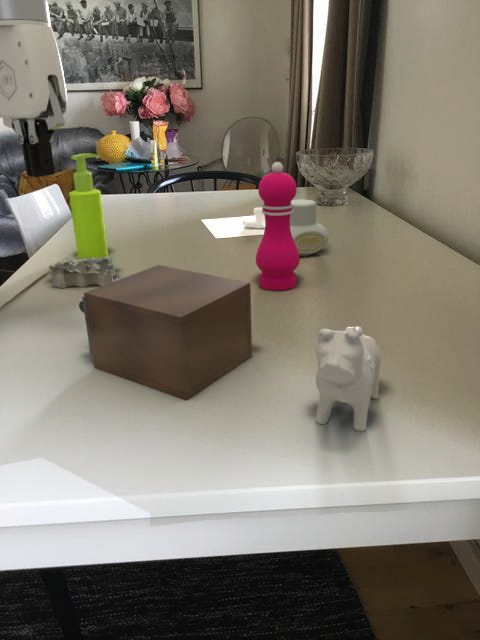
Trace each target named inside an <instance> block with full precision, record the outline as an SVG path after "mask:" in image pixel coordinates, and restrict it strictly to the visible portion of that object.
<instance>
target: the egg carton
mask: <svg viewBox="0 0 480 640" xmlns="http://www.w3.org/2000/svg"><path fill="white" fill-rule="evenodd" d="M114 261H115V256H114V254H111V255H108V257H103V258H100V257H98V258H97V259H94V258H93V257H91V258H89V259H78V258H71V257H67V258H63V259H61V260H59V261H57V262H56V263H55V264H54V265H49V266H48V267H49V269H48V270H50V275H51V281H52V286H53V287H54V288H55V287H56V288H59V289H66V288H68V287H73V286H77V287H79V288H81V287H82V288H84V287H88V286H91V285H98V287H101V286H103V285H106V284H109V283H111V282H114V277H116V272H115V271H116V270H115V263H114Z"/></svg>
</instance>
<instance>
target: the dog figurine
mask: <svg viewBox="0 0 480 640" xmlns="http://www.w3.org/2000/svg"><path fill="white" fill-rule="evenodd" d="M317 341H318V342H317V344H316V350H315V354H316V359H317V370H316V373H315V385H316V388H317V391H318V392H319V394H318V395H319V398H318V404H317V409H316V415H315V420H314V421H315V423H316V424H319V425H326V424H327V423H328V422H329V419H330V415H331V414H332V413H331V412H332V410H333V406H334V403H336V402H340V403H343V404H349V405H350V406H351V408H352V410H353V422H352V428H353V429H354V431H357V432H363V431H366V430H367V421H368V413H369V412H368V411H369V406H370V401H371V399H379V396H380V395H379V390H380V389H379V387H380V386H379V384H380V370H381V369H380V368H381V363H382V362H381V361H382V353H381V350H380V349H381V348H380V345H379V344H378V343H377V340H376V339H374V338H373V337H371V336H369V335H365V334H364V332H363V328H362V327H361V326H355V327H354V326H347V327H346V328H345V330H331V329H329V328H322V329H321V330H319V332H318V337H317Z"/></svg>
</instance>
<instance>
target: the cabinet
mask: <svg viewBox="0 0 480 640" xmlns="http://www.w3.org/2000/svg"><path fill="white" fill-rule="evenodd" d="M251 288H252V287H251V282H248V281H243V280H237V279H232V278H228V277H223V276H217V275H212V274H207V273H203V272H197V271H192V270H187V269H182V268H176V267H172V266H171V267H170V266H167V265H162V264H157V265H155V266H152V267H149V268H146V269H143V270H140V271H138V272H135V273H132V274H131V275H127V276H125V277H122V278H120V279H117V280H113V282H111V283H109V284H106V285H103V286H98V287H96V288H93V289H90V290H88V291H84V292H83V296H84V297H85V304H86V312H87V319H88V326H89V333H90V340H91V347H92V354H93V357H92V359H93V367H94V368H95V369H98V370H101V371H104V372H106V373H109V374H112V375H115V376H118V377H120V378H123V379H126V380H129V381H132V382H134V383H138V384H140V385H143V386H145V387H149V388H151V389H154V390H158V391H160V392H163V393H166V394H168V395H171V396H174V397H177V398H180V399H182V400H185V401H188V400H190V399H191V398H193V397H194V396H195V395H197V394H199V393H200V392H202V391H203V390H204V389H205V388H207V387H209V386H210V385H212V384H213V383H215V382H217V380H219V379H220V378H222V377H223V376H225V375H226V374H228V373H230V372H231V371H232V370H234V369H236V368H237V367H238V366H240V365H241V364H243V363H244V362H245V361H247V360H249V359H250V358H252V357H253V342H252V341H253V339H252V337H253V336H252V297H251V296H252V292H251Z"/></svg>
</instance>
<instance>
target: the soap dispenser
mask: <svg viewBox="0 0 480 640" xmlns="http://www.w3.org/2000/svg"><path fill="white" fill-rule="evenodd" d="M101 156H102V155H101V154H97V153H86V152H85V153H78V154H73V155H70V159H71V160H74V161H75V165H76V171H75V172H73V174H72V177H73V181H74V182H73V183H74V190H72V191H69V192H68V197H69V203H70V211H71V218H72V224H73V225H72V226H73V233H74V238H75V247H76V253H77V260H79V259H89V258H91V257H93V258H94V259H97V258H98V257H100V258H103V257H109V250H108V242H107V234H106V226H105V225H106V224H105V218H104V208H103V202H102V201H103V200H102V193H101V190H100V189H97V188H94V183H93V182H94V181H93V175H92V174H93V173H92V172H90V171H89V170H87V163H86V159H89V158H99V159H100V158H101Z"/></svg>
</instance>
